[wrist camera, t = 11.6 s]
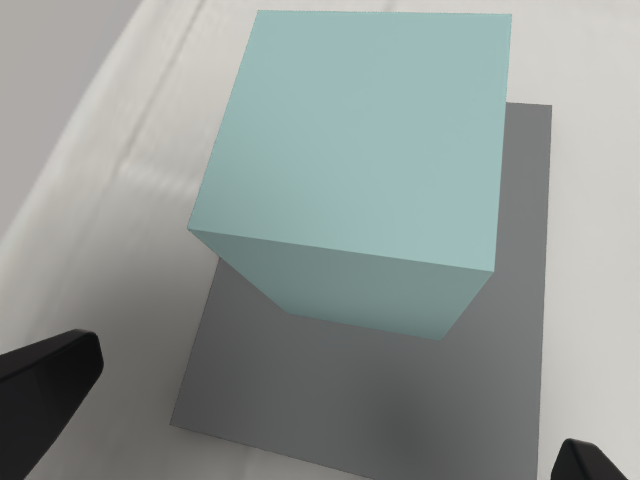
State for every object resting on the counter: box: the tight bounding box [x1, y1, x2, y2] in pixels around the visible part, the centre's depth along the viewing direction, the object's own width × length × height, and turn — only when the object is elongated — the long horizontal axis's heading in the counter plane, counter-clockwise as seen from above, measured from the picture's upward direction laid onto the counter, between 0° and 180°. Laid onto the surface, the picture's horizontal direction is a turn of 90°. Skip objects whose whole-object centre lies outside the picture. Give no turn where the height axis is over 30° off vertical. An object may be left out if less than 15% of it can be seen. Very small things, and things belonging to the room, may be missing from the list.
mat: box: [170, 102, 552, 480], centre depth 18 cm, size 16×13×1 cm
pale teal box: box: [187, 10, 512, 341], centre depth 13 cm, size 6×6×9 cm
